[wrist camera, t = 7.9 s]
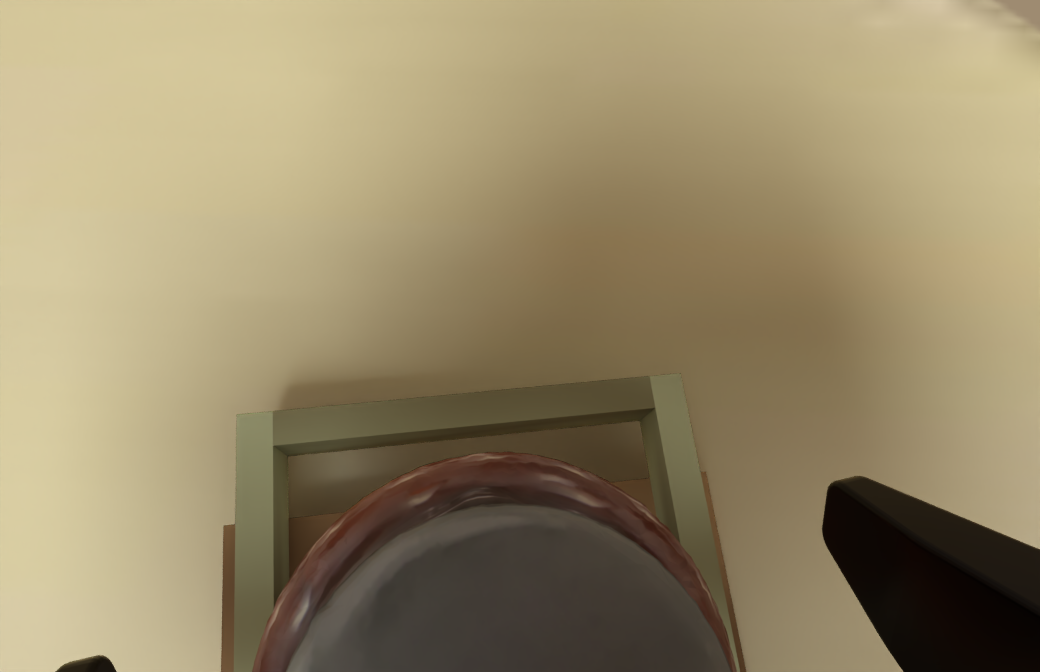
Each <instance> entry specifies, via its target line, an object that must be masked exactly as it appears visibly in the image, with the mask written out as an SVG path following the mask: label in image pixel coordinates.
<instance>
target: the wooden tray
mask: <svg viewBox="0 0 1040 672" xmlns="http://www.w3.org/2000/svg"><path fill="white" fill-rule="evenodd" d="M632 421H640V425H641V431H642V436H643V442H644V448H645V453H646V459H647V465H648V470H649V476H650V478H645V479H636V480H627V481H618V482H610V483H611V484H613V485H615V486H617V487H619V488H620V489H622V490H623V491H624V492H626V493H627V494H629V495H630V496H632V497H633V498H635V499H637V500H638V501H640V502H641V503H643V504H644V505H646V507H647V509H648V510H649V511H650V512H651V513H652V514H653V515H654V516H656V517H657V518H658V519H659V520H660V522H662V523H663V524H664V525H666V526H667V527H668V528H669V530H670V531H671V533H672V534H673V535H674V536H675V538H676V539H677V540H678V541H679V543H680V544H681V546H682V547H683V548H684V549H685V551H686V552H687V553H688V554H689V555H690V556H691V557H692V559H693V561H694V563H695V565H696V567H697V568H698V569H699V570H700V573H701V575H702V577H703V579H704V580H705V582H706V584H707V586H708V588H709V590H710V593H711V595H712V598H713V599H714V601H715V603H716V605H717V607H718V610H719V614H720V616H721V618H722V620H723V624H724V626H725V628H726V631H727V634H728V638H729V643H730V647H731V650H732V653H733V656H734V660H735V665H736V669H737V672H746V669H745V664H744V659H743V654H742V649H741V644H740V639H739V634H738V629H737V624H736V619H735V614H734V609H733V604H732V599H731V595H730V590H729V585H728V580H727V575H726V570H725V565H724V560H723V555H722V550H721V545H720V540H719V535H718V530H717V525H716V520H715V515H714V510H713V505H712V500H711V495H710V491H709V486H708V481H707V476H706V472H700V467H699V462H698V457H697V452H696V447H695V442H694V437H693V432H692V427H691V422H690V417H689V412H688V407H687V402H686V397H685V392H684V387H683V382H682V377H681V373H678V374H667V375H656V376H645V377H635V378H624V379H613V380H602V381H592V382H581V383H570V384H559V385H549V386H538V387H527V388H517V389H506V390H495V391H484V392H474V393H463V394H452V395H441V396H431V397H420V398H409V399H398V400H388V401H377V402H366V403H355V404H345V405H334V406H323V407H312V408H302V409H291V410H280V411H269V412H259V413H248V414H237V425H236V512H235V524H234V525H225V526H224V535H223V595H222V655H221V672H252V670H253V666H254V661H255V658H256V655H257V651H258V648H259V644H260V641H261V638H262V636H263V633H264V630H265V627H266V624H267V621H268V619H269V617H270V616H271V614H272V612H273V609H274V607H275V604H276V601H277V599H278V597H279V595H280V594H281V592H282V590H283V588H284V587H285V585H286V584H287V582H288V581H289V580H290V578H291V577H292V575H293V573H294V571H295V569H296V568H297V566H298V565H299V563H300V562H301V561H302V559H303V558H304V556H305V555H306V554H307V552H308V551H309V550H310V548H311V547H312V546H313V545H314V544H315V542H316V541H317V540H318V539H319V538H320V537H321V536H322V535H323V533H324V532H325V531H326V530H327V529H328V528H329V527H330V526H331V525H332V524H333V523H334V522H335V521H336V520H338V519H339V518H340V517H341V516H342V515H343V514H344V513H345V512H341V513H333V514H324V515H315V516H306V517H297V518H289V510H288V456H296V455H305V454H315V453H325V452H335V451H345V450H355V449H365V448H375V447H385V446H394V445H404V444H414V443H424V442H434V441H444V440H454V439H464V438H474V437H483V436H493V435H503V434H513V433H523V432H533V431H543V430H553V429H563V428H572V427H582V426H592V425H602V424H612V423H622V422H632Z"/></svg>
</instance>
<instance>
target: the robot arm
mask: <svg viewBox="0 0 1040 672" xmlns="http://www.w3.org/2000/svg"><path fill="white" fill-rule="evenodd" d="M822 532H823V538H824V541H825V544H826V546H827V548H828V550H829V551H830V553H831V555H832V556H833V558H834V560H835V562H836V563H837V565H838V567H839V568H840V570H841V572H842V573H843V575H844V577H845V578H846V580H847V582H848V584H849V585H850V587H851V589H852V590H853V592H854V594H855V595H856V597H857V599H858V600H859V602H860V604H861V605H862V607H863V609H864V611H865V612H866V614H867V616H868V617H869V619H870V621H871V622H872V624H873V626H874V627H875V629H876V631H877V633H878V634H879V636H880V637H881V639H882V640H883V642H884V644H885V645H886V647H887V648H888V650H889V651H890V653H891V654H892V656H893V657H894V659H895V660H896V662H897V663H898V664H899V666H900V667H901V669H902V670H903V671H904V672H1040V549H1037V548H1035V547H1032V546H1030V545H1028V544H1025V543H1023V542H1020V541H1018V540H1016V539H1013V538H1011V537H1008V536H1006V535H1004V534H1001V533H999V532H996V531H994V530H991V529H989V528H987V527H984V526H982V525H979V524H977V523H975V522H972V521H970V520H967V519H965V518H963V517H960V516H958V515H955V514H953V513H950V512H948V511H946V510H943V509H941V508H938V507H936V506H934V505H931V504H929V503H926V502H924V501H922V500H919V499H917V498H914V497H912V496H910V495H907V494H905V493H902V492H900V491H897V490H895V489H893V488H890V487H888V486H885V485H883V484H881V483H878V482H876V481H873V480H871V479H869V478H866V477H863V476H854V477H850V478H846V479H841V480H837V481H834V482H832V483H831V484H830V486H829V487H828V490H827V496H826V504H825V511H824V518H823V525H822ZM56 672H116V670H115V668H114V666H113V664H112V662H111V661H110V660H109V659H108V658H107V657H105V656H103V655H102V656H100V655H98V656H93V657H89V658H85V659H81V660H76V661H72V662H69V663H66V664H64V665H63V666H61V667H60V668H59V669H58V670H57V671H56Z"/></svg>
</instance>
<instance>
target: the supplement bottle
mask: <svg viewBox="0 0 1040 672" xmlns="http://www.w3.org/2000/svg"><path fill="white" fill-rule="evenodd" d="M252 672H737V669H736V665H735V660H734V656H733V653H732V650H731V647H730V643H729V638H728V634H727V631H726V628H725V626H724V624H723V620H722V618H721V616H720V614H719V610H718V607H717V605H716V603H715V601H714V599H713V598H712V595H711V593H710V590H709V588H708V586H707V584H706V582H705V580H704V579H703V577H702V575H701V573H700V570H699V569H698V568H697V567H696V565H695V563H694V561H693V559H692V557H691V556H690V555H689V554H688V553H687V552H686V551H685V549H684V548H683V547H682V546H681V544H680V543H679V541H678V540H677V539H676V538H675V536H674V535H673V534H672V533H671V531H670V530H669V528H668V527H667V526H666V525H664V524H663V523H662V522H660V520H659V519H658V518H657V517H656V516H654V515H653V514H652V513H651V512H650V511H649V510H648V509H647V507H646V505H644V504H643V503H641V502H640V501H638V500H637V499H635V498H633V497H632V496H630V495H629V494H627V493H626V492H624V491H623V490H622V489H620V488H619V487H617V486H615V485H613V484H611V483H610V482H608V481H607V480H605V479H603V478H601V477H599V476H597V475H595V474H593V473H591V472H588V471H585V470H583V469H581V468H578V467H576V466H573V465H571V464H568V463H565V462H562V461H559V460H556V459H551V458H546V457H542V456H539V455H533V454H526V453H514V452H502V453H499V452H487V453H479V454H471V455H467V456H462V457H456V458H449V459H445V460H442V461H438V462H434V463H431V464H428V465H424V466H421V467H418V468H417V469H415V470H413V471H411V472H409V473H406V474H404V475H402V476H400V477H398V478H395V479H393V480H391V481H390V482H389V483H387V484H386V485H384V486H382V487H380V488H379V489H377V490H375V491H373V492H372V493H370V494H369V495H367V496H366V497H364V498H362V499H361V500H360V501H359V502H358V503H357V504H355V505H354V506H352V507H351V508H350V509H349V510H347V511H346V512H345V513H344V514H343V515H342V516H341V517H340V518H339V519H338V520H336V521H335V522H334V523H333V524H332V525H331V526H330V527H329V528H328V529H327V530H326V531H325V532H324V533H323V535H322V536H321V537H320V538H319V539H318V540H317V541H316V542H315V544H314V545H313V546H312V547H311V548H310V550H309V551H308V552H307V554H306V555H305V556H304V558H303V559H302V561H301V562H300V563H299V565H298V566H297V568H296V569H295V571H294V573H293V575H292V577H291V578H290V580H289V581H288V582H287V584H286V585H285V587H284V588H283V590H282V592H281V594H280V595H279V597H278V599H277V601H276V604H275V607H274V609H273V612H272V614H271V616H270V617H269V619H268V621H267V624H266V627H265V630H264V633H263V636H262V638H261V641H260V644H259V648H258V651H257V655H256V658H255V661H254V666H253V670H252Z"/></svg>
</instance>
